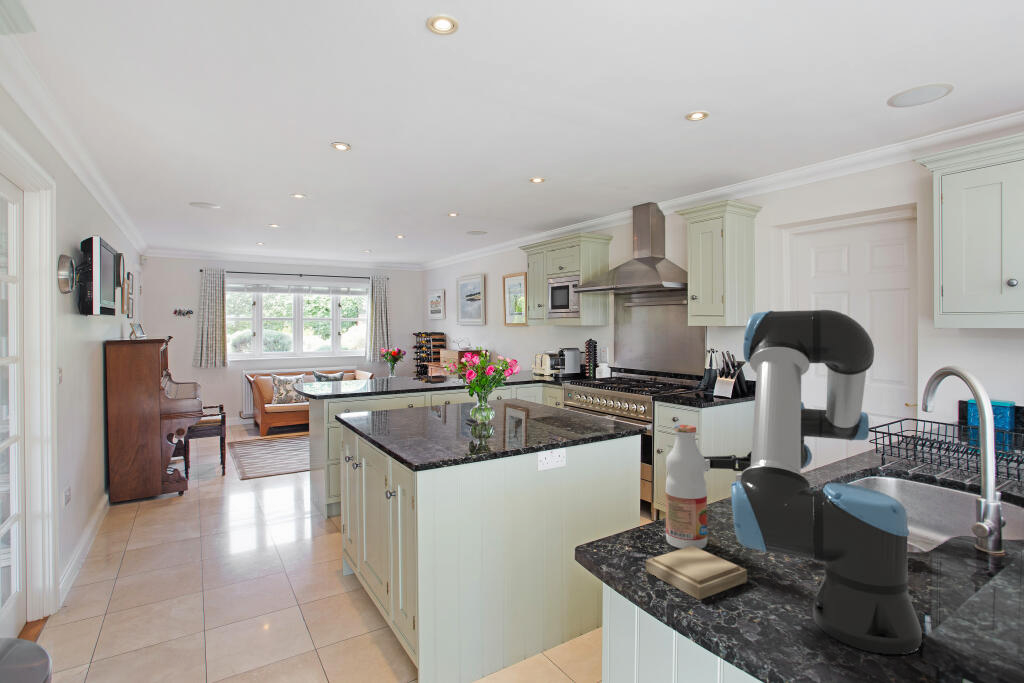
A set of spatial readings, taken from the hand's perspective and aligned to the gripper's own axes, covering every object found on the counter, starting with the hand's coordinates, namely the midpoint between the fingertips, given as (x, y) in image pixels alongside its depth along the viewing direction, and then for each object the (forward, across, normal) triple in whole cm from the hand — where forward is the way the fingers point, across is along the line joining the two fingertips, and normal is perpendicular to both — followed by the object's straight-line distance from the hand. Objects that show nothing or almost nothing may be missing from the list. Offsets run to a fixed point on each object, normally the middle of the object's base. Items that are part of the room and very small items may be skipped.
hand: (713, 473), depth 130 cm
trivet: (+22, -13, -15) cm, 29 cm away
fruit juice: (+10, 0, -15) cm, 18 cm away
